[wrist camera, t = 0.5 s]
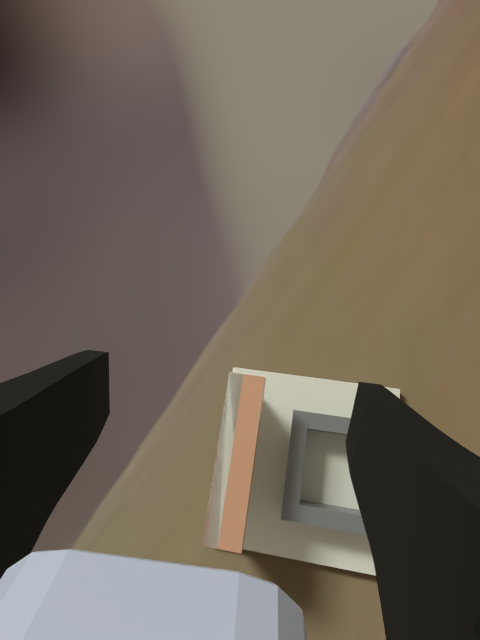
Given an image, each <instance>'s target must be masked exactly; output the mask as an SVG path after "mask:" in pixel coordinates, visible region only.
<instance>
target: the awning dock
mask: <svg viewBox="0 0 480 640" xmlns="http://www.w3.org/2000/svg"><path fill="white" fill-rule="evenodd" d="M357 388H358V384H357V383H349V382H342V381H334V380H327V379H319V378H311V377H304V376H296V375H288V374H281V373H273V372H265V371H258V370H250V369H242V368H235V367H233V372H232V373H231V372H229V377H228V383H227V390H226V396H225V402H224V409H223V415H222V422H221V428H220V434H219V441H218V447H217V453H216V460H215V466H214V472H213V479H212V485H211V492H210V498H209V504H208V511H207V517H206V523H205V530H204V536H203V542H202V546H206V547H211V548H216V549H221V550H225V551H230V552H235V553H240V554H241V553H242V551H243V549H244V550H249V551H254V552H259V553H264V554H269V555H274V556H279V557H284V558H289V559H295V560H300V561H305V562H310V563H315V564H320V565H325V566H330V567H335V568H340V569H345V570H350V571H355V572H360V573H365V574H370V575H375V576H376V572H375V567H374V562H373V557H372V553H371V549H370V545H369V541H368V538H367V534H366V531H365V527H364V524H363V520H362V517H361V513H360V510H359V506H358V503H357V499H356V495H355V492H354V488H353V485H352V481H351V477H350V473H349V466H348V459H347V451H346V443H345V442H346V437H347V433H348V428H349V424H350V419H351V415H352V410H353V406H354V401H355V397H356V392H357ZM385 388H387V389H388V390H389V391H391V392H392V393H393V394H394V395H396V396H397V397H398V398H399V399H400V389H395V388H388V387H385Z"/></svg>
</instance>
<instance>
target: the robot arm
mask: <svg viewBox="0 0 480 640" xmlns="http://www.w3.org/2000/svg"><path fill="white" fill-rule="evenodd" d="M108 355H109V353H108V352H101V351H93V350H86V351H82V352H79V353H76V354H73V355H71V356H68V357H66V358H64V359H61V360H59V361H56V362H54V363H51V364H49V365H46V366H44V367H42V368H39V369H37V370H34V371H32V372H29V373H27V374H24V375H21V376H19V377H16V378H13V379H10V380H8V381H5V382H2V383H0V640H307V635H306V629H305V623H304V617H303V611H302V609H301V608H300V607H299V606H298V605H297V604H296V603H295V602H294V601H293V600H292V599H291V598H290V597H289V596H288V595H287V594H286V593H285V592H284V591H282V590H281V589H280V588H279V587H278V586H277V585H276V584H274V583H272V582H269V581H266V580H263V579H260V578H257V577H254V576H251V575H248V574H245V573H242V572H239V571H232V570H225V569H217V568H210V567H203V566H195V565H188V564H180V563H173V562H165V561H158V560H151V559H143V558H136V557H128V556H121V555H113V554H106V553H99V552H91V551H84V550H76V549H66V550H52V551H39V552H33V553H31V551H32V549H33V547H34V545H35V543H36V541H37V539H38V537H39V535H40V533H41V531H42V529H43V527H44V525H45V523H46V521H47V520H48V518H49V516H50V515H51V513H52V511H53V509H54V508H55V506H56V504H57V503H58V501H59V500H60V498H61V497H62V495H63V494H64V492H65V490H66V489H67V487H68V486H69V484H70V483H71V481H72V480H73V478H74V476H75V475H76V473H77V472H78V470H79V469H80V467H81V466H82V464H83V463H84V461H85V459H86V458H87V456H88V455H89V453H90V452H91V450H92V448H93V447H94V445H95V443H96V442H97V440H98V438H99V436H100V434H101V431H102V429H103V427H104V425H105V423H106V420H107V418H108V416H109V413H110V409H109V356H108ZM345 443H346V451H347V459H348V466H349V473H350V477H351V481H352V485H353V488H354V492H355V495H356V499H357V503H358V506H359V510H360V513H361V517H362V520H363V524H364V527H365V531H366V534H367V538H368V541H369V545H370V549H371V553H372V557H373V562H374V567H375V572H376V578H377V584H378V590H379V596H380V601H381V608H382V615H383V621H384V628H385V634H386V640H480V457H479V456H477V455H476V454H474V453H472V452H471V451H469V450H468V449H466V448H465V447H463V446H461V445H460V444H459V443H457V442H456V441H454V440H453V439H451V438H450V437H449V436H447V435H446V434H444V433H443V432H442V431H440V430H439V429H437V428H436V427H435V426H433V425H432V424H431V423H430V422H428V421H427V420H426V419H424V418H423V417H422V416H421V415H419V414H418V413H417V412H416V411H414V410H413V409H412V408H411V407H409V406H408V405H407V404H406V403H404V402H403V401H402V400H401V399H399V398H398V397H397V396H396V395H394V394H393V393H392V392H391V391H389V390H388V389H387V388H385V387H384V386H382V385H380V384H371V383H363V382H359V383H358V388H357V392H356V397H355V401H354V406H353V410H352V415H351V419H350V424H349V428H348V433H347V437H346V442H345Z"/></svg>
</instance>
